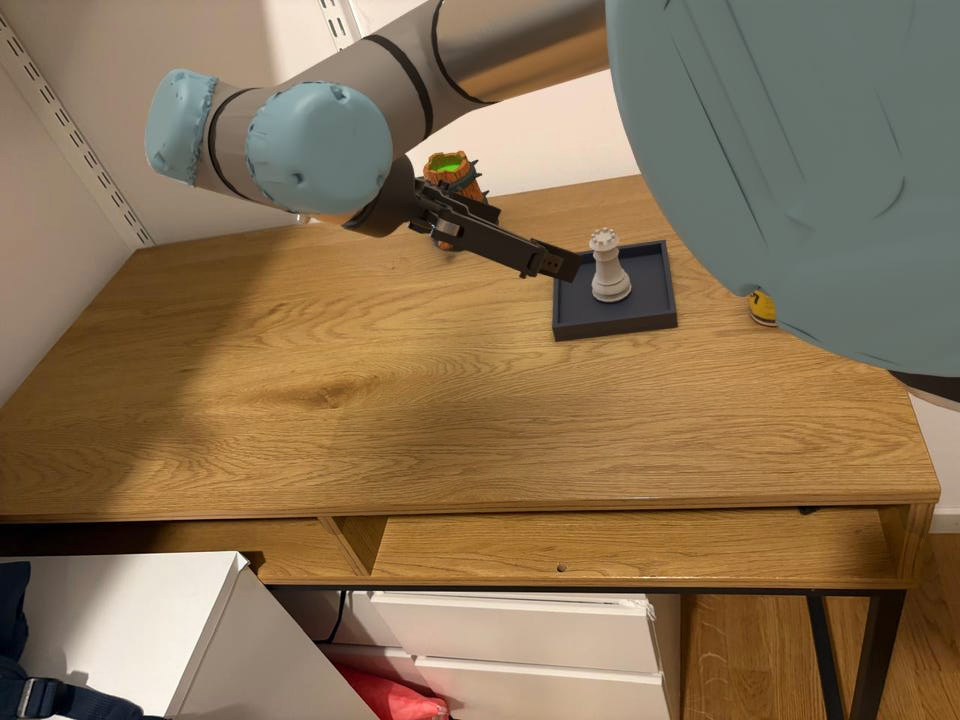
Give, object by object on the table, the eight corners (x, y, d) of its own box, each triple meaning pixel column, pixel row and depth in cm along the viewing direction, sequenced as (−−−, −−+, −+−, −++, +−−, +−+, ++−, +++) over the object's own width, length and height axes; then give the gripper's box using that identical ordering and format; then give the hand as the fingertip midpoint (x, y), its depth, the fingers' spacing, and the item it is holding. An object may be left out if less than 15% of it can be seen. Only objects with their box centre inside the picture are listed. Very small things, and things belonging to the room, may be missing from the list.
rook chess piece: (623, 307, 83) (614, 249, 77) (586, 301, 85) (575, 244, 79) (637, 282, 85) (630, 224, 80) (601, 277, 87) (591, 220, 82)
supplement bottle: (746, 299, 80) (746, 235, 74) (794, 295, 78) (797, 229, 73) (752, 329, 76) (752, 264, 71) (801, 325, 75) (805, 258, 69)
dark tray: (677, 327, 79) (676, 312, 78) (555, 341, 82) (551, 327, 81) (666, 253, 88) (665, 239, 87) (557, 269, 92) (554, 255, 90)
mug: (443, 210, 108) (420, 139, 101) (509, 208, 104) (490, 133, 97) (412, 266, 100) (384, 192, 92) (482, 265, 96) (459, 188, 88)
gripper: (281, 180, 70) (453, 234, 84) (408, 284, 53) (597, 330, 67) (308, 103, 68) (479, 172, 82) (448, 185, 51) (635, 254, 65)
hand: (532, 243), depth 74 cm, fingers open, 13 cm apart
